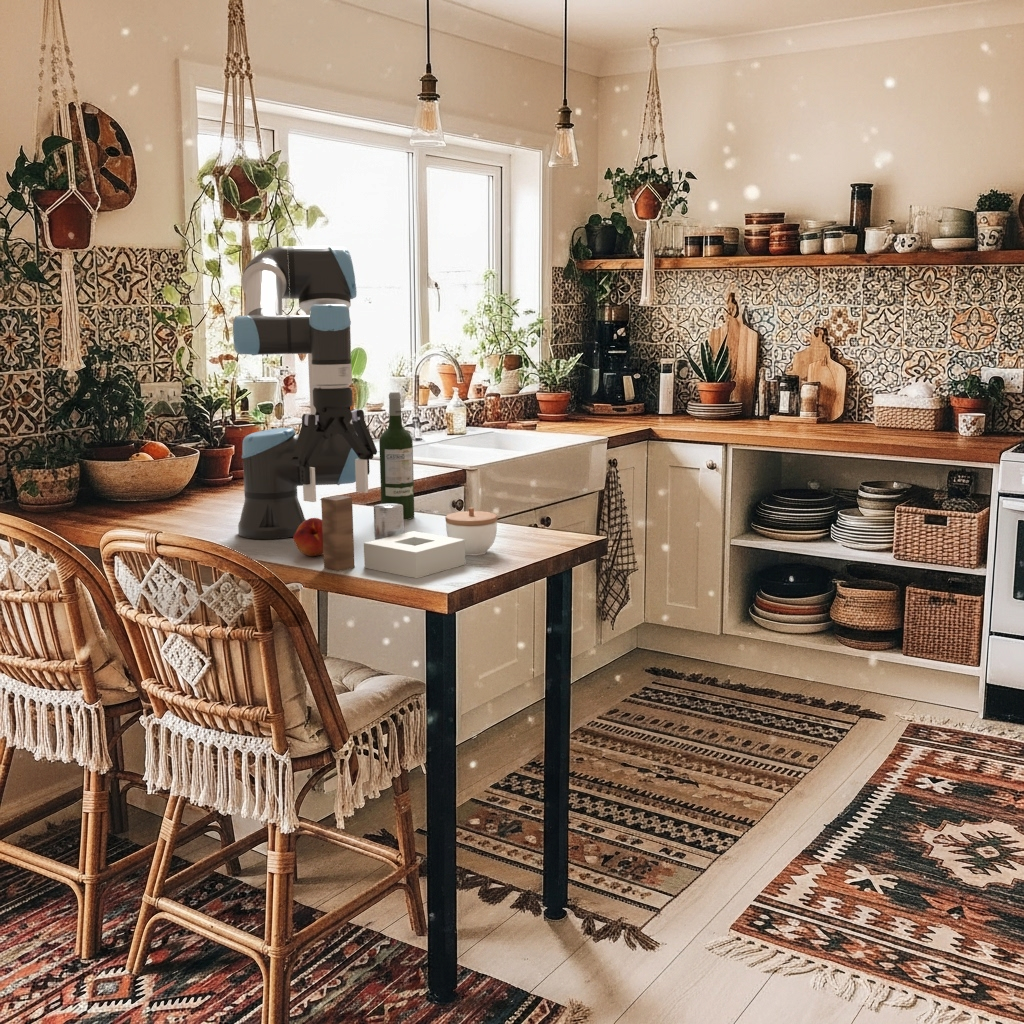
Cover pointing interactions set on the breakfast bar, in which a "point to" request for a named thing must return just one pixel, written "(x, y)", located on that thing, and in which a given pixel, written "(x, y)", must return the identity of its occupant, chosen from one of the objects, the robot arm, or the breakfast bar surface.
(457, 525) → the lidded jar
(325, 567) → the square bit
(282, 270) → the robot arm
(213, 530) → the breakfast bar surface
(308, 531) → the fruit
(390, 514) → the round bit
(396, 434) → the wine bottle
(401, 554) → the socket block
